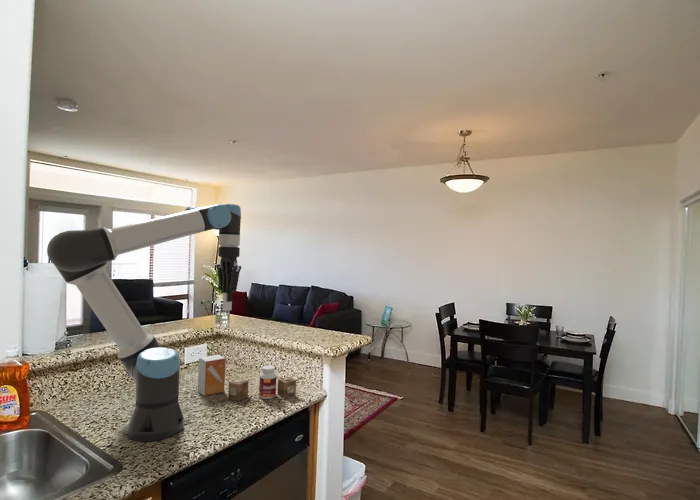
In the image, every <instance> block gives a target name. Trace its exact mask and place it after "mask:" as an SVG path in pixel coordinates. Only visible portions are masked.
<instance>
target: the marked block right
mask: <svg viewBox="0 0 700 500" xmlns="http://www.w3.org/2000/svg"><path fill="white" fill-rule="evenodd" d="M277 395H278V396H279V397H280V398H282V399H284V398H285V399H289V398H293V397H296V396H297V379H296V378H295V379H294V378H293V377H291V376H286V377H281V378H278V379H277ZM288 397H289V398H288Z"/></svg>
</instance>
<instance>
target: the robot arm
mask: <svg viewBox="0 0 700 500" xmlns="http://www.w3.org/2000/svg"><path fill="white" fill-rule="evenodd" d="M241 223H242V209H241V206H240V205H238V204H234V203H233V204H231V203H220V204H218V203H215V204H211V205H208V206H196V205H195V206H187V207H186V208H185V209H184V211H182V212H178V213H173V214H169V215H165V216H159V217H156V218H152V219H148V220H147V219H146V220H144V221H143V220H142V221H138V222H135V223H130V224H126V225H123V226H122V225H121V226H118V227H113V228H107V227H106V226H101V227H97V228H92V229H83V230H82V229H81V230H77V229H75V230H74V229H73V230H66V231H62V232H59V233H58V234H55V235H54V236H53V237H52V238H51V239H50V240H49V242H48V244H47V249H46V254H47V257H48V259H49V261H50V262H51V263H52V264H53V265H54V267H55V268H56V269H57V271H58V272H59V273H60V276H61V277H62V278H63V280H64V281H65V283H66V284H69V285H73V286H75V287H76V288H77V290H78V291H79V292H80V294H81V295H82V297H83V298H84V300H85V301H86V303H87V304H88V306H89V307H90V308H91V310H92V311H93V313H94V314H95V316H96V317H97V319H98V320H99V321H100V322H101V324H102V326H103V328H104V329H105V330H106V333H108V334H109V336H110V337H111V339H112V340H113V342H114V343H115V345H116V346H117V348H118V353H117V357H118V359H119V361H120V362H121V364H122V365H123V366H124V368H125V370H126V372H127V373H128V375H129V376H130V377H131V378H132V379H133V381H134V383H135V405H134V406H135V407H134V409H133V412H132V415H131V417H130V420H129V423H128V425H127V426H128V427H127V436H128V438H129V439H131V440H133V441H137V442H155V441H160V440H164V439H168V438H170V437H173V436H174V435H175V436H176V435H177V434H179V433H180V432H181V431H182V430H183V429H184V426H185V425H184V424H185V419H184V413H183V412H182V407H181V406H180V403H179V396H180V395H179V392H180V367H181V358H180V354H179V352H178V351H177V350H175V349H173V348H169V347H162V346H161V344H160V343H159V342H158V340H157V339H156V337H155V335H154V334H151V333H147V332H146V331H145V330H144V328H143V326H142V325H141V324H140V322H139V320H138V319H137V316H135V314H134V312H133V311H132V309H131V308H130V306H129V305H128V303H127V302H126V300H125V299H124V297H123V295H122V294H121V292H120V291H119V289H118V288H117V286H116V285H115V283H114V281H113V280H112V278H111V277H110V275H109V273H108V272H107V270H106V269H107V266H108V262H111V261H115V260H116V259H117V257H118V256H119V255H123V254H127V253H129V252H133V251H138V250H141V249H145V248H149V247H151V246H152V247H153V246H156V245H159V244H163V243H168V242H170V241H175V240H177V239H181V238H184V237H188V236H192V235H196V234H199V233H203V232H207V231H210V230H211V231H212V230H218V246H219V247H218V249H217V250H218V251H217V253H218V255H217V256H218V257H219V258H220V263H218V264H216V265H215V266H216V271H217V278H218V288H219V290H220V291H221V292H222V311H224V312H226V311H232V307H233V306H232V305H233V293H234V292H237V289H238V285H239V278H240V274H241V273H240V272H241V270H242V266H241V265H238V259H237V258H239V257H240V252H241V251H240V250H241V249H240V247H239V246H240V245H241V244H240V242H241V241H240V240H241Z"/></svg>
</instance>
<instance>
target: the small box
mask: <svg viewBox="0 0 700 500" xmlns="http://www.w3.org/2000/svg"><path fill="white" fill-rule="evenodd" d="M225 380H226V357H224V356H222V355H221V354H216V355H209V356H203V357H199V358H198V374H197V392H198V393H199V394H200V395H202V396H204V397H205V396H209V395H213V394H219V393H224V392H225V384H226V383H225Z"/></svg>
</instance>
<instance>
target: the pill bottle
mask: <svg viewBox="0 0 700 500" xmlns="http://www.w3.org/2000/svg"><path fill="white" fill-rule="evenodd" d="M275 370H276V367H275V366H274V365H265V366H262V368H261V371H262V372H261V373H260V375H259V386H258V397H259V398H260V399H262V400H270V399H274V398H275V397H276V393H277V373H276V371H275Z"/></svg>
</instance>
